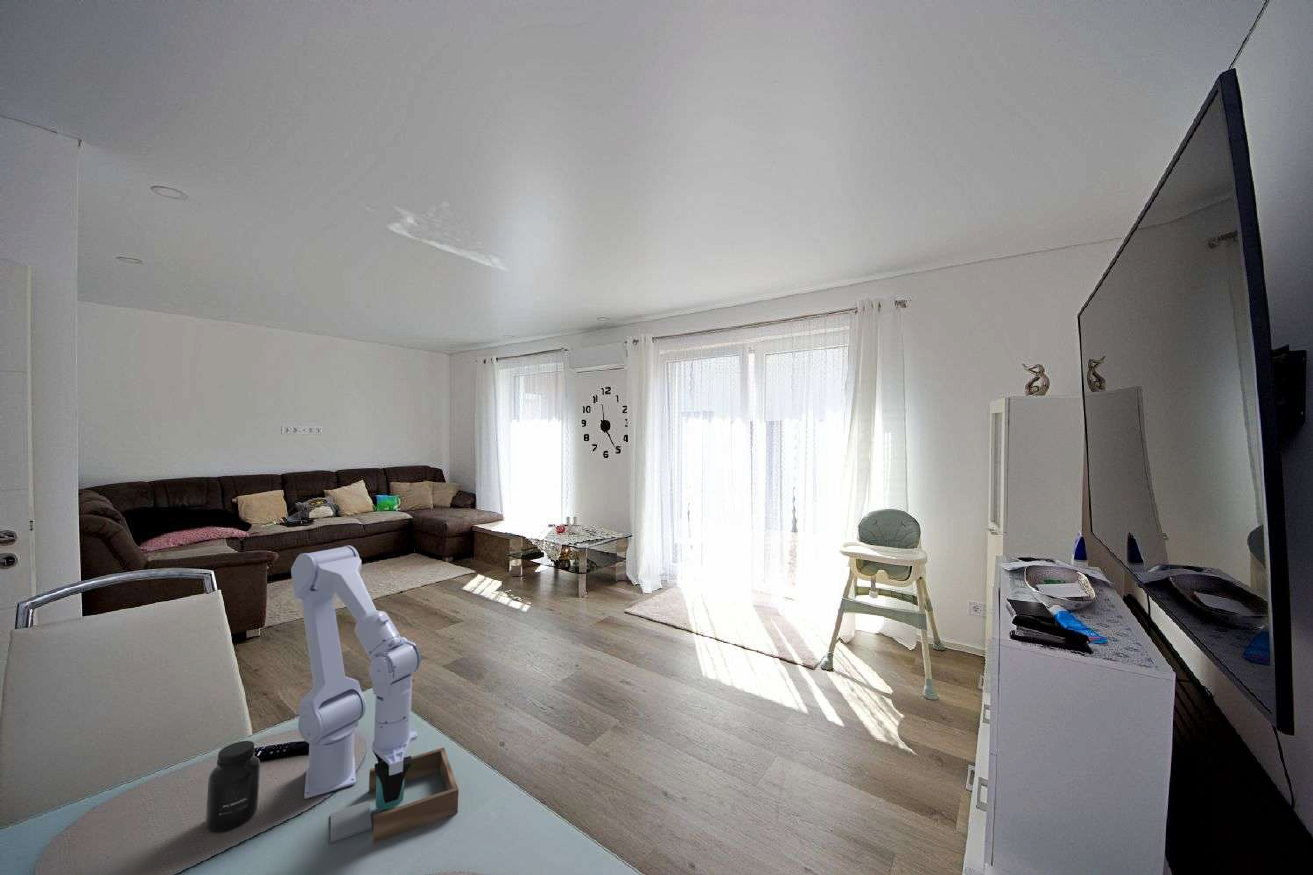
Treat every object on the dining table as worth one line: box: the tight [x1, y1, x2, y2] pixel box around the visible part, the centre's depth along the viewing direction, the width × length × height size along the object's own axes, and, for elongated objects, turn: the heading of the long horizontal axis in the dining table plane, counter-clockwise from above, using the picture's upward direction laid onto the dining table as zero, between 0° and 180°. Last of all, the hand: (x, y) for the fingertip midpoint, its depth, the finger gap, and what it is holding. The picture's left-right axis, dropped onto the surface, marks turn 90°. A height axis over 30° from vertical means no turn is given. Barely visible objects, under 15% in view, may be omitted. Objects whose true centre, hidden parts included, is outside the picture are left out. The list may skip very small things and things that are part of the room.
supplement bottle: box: [205, 740, 261, 834], centre depth 84 cm, size 7×7×12 cm
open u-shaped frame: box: [368, 747, 459, 844], centre depth 89 cm, size 14×13×4 cm
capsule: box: [375, 760, 405, 811], centre depth 87 cm, size 4×4×6 cm
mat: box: [329, 800, 373, 844], centre depth 84 cm, size 7×6×1 cm
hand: (390, 791), depth 87 cm, fingers closed on capsule, 4 cm apart
